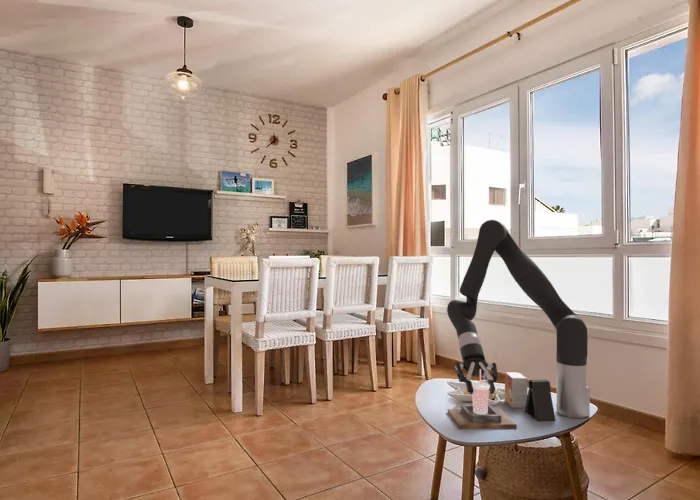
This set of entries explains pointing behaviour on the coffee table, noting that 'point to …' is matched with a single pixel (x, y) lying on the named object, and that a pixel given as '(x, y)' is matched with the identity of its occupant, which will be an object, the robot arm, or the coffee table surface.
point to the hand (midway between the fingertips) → (482, 392)
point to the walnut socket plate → (480, 418)
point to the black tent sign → (540, 401)
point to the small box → (516, 389)
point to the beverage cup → (480, 397)
